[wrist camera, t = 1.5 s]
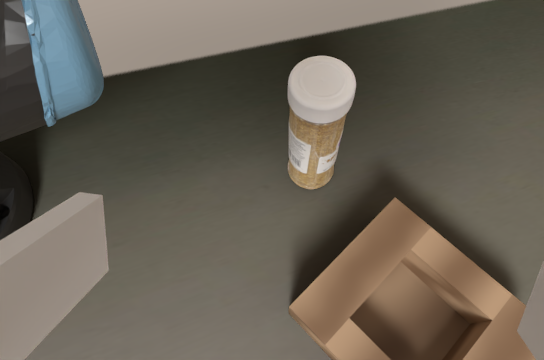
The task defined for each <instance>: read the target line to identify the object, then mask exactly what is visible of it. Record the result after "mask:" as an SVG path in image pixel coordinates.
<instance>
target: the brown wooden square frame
mask: <svg viewBox="0 0 544 360" xmlns="http://www.w3.org/2000/svg"><path fill="white" fill-rule="evenodd" d="M525 308H526V305H524V304H523V303H522V302H521V301H520V300H518V299H517V298H516V297H515V296H514V295H512V294H511V293H510V292H509V291H508V290H506V289H505V288H504V287H503V286H501V285H500V284H499V283H498V282H497V281H495V280H494V279H493V278H492V277H491V276H489V275H488V274H487V273H486V272H485V271H483V270H482V269H481V268H480V267H479V266H477V265H476V264H475V263H474V262H473V261H471V260H470V259H469V258H468V257H467V256H465V255H464V254H463V253H462V252H460V251H459V250H458V249H457V248H456V247H454V246H453V245H452V244H451V243H450V242H448V241H447V240H446V239H445V238H444V237H442V236H441V235H440V234H439V233H438V232H436V231H435V230H434V229H433V228H432V227H430V226H429V225H428V224H427V223H426V222H424V221H423V220H422V219H421V218H419V217H418V216H417V215H416V214H415V213H413V212H412V211H411V210H410V209H409V208H407V207H406V206H405V205H404V204H403V203H401V202H400V201H399V200H398V199H397V198H394V199H393V200H392V201H391V202H390V203H389V204H388V205H387V206H386V207H385V208H384V209H383V210H382V211H381V212H380V213H379V214H378V215H377V216H376V217H375V218H374V219H373V220H372V222H371V223H370V224H369V225H368V226H367V227H366V228H365V229H364V230H363V231H362V232H361V233H360V234H359V235H358V236H357V237H356V238H355V239H354V240H353V241H352V242H351V243H350V244H349V245H348V246H347V247H346V248H345V249H344V250H343V251H342V253H341V254H340V255H339V256H338V257H337V258H336V259H335V260H334V261H333V262H332V263H331V264H330V265H329V266H328V267H327V268H326V269H325V270H324V271H323V272H322V273H321V274H320V275H319V276H318V277H317V278H316V279H315V280H314V281H313V282H312V283H311V285H310V286H309V287H308V288H307V289H306V290H305V291H304V292H303V293H302V294H301V295H300V296H299V297H298V298H297V299H296V300H295V301H294V302H293V303H292V304H291V305H290V306H289V314H290V315H291V316H292V317H293V319H294V320H295V321H296V322H297V323H298V324H299V325H300V326H301V327H302V328H303V329H304V330H305V331H306V332H307V334H308V335H309V336H310V337H311V338H312V339H313V340H314V341H315V342H316V343H317V344H318V345H319V346H320V347H321V348H322V350H323V351H324V352H325V353H326V354H327V355H328V356H329V357H330V358H331V359H332V360H536V359H535V357H534V356H533V354H532V353H531V351H530V350H529V348H528V347H527V345H526V344H525V342H524V341H523V339H522V338H521V336H520V335H519V333H518V332H517V329H518V327H519V324H520V321H521V319H522V316H523V314H524V311H525Z"/></svg>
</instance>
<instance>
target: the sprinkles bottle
mask: <svg viewBox="0 0 544 360" xmlns="http://www.w3.org/2000/svg"><path fill="white" fill-rule="evenodd" d="M355 89H356V80H355V76H354V74H353V72H352V70H351V69H350V68H349V67H348V66H347V65H346V64H345V63H344V62H342V61H340V60H339V59H336V58H333V57H329V56H313V57H309V58H307V59H304V60H302V61H301V62H299V63H298V64H297V65H296V66H295V67H294V68H293V70H292V71H291V73H290V76H289V79H288V102H289V105H290V117H289V162H288V173H289V175H290V178H291V179H292V180H293V181H294V182H295V183H296V184H297V185H299V186H301V187H303V188H307V189H316V188H320V187H322V186H324V185H325V184H326V183H328V182H329V180H330V179H331V177H332V175H333V173H334V163H335V160H336V157H337V153H338V149H339V144H340V140H341V136H342V132H343V126H344V122H345V118H346V114H347V112H348V111H349V109H350V108H351V105H352V102H353V98H354V94H355Z"/></svg>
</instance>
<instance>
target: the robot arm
mask: <svg viewBox="0 0 544 360" xmlns="http://www.w3.org/2000/svg"><path fill="white" fill-rule="evenodd" d="M103 87H104V78H103V74H102V70H101V66H100V63H99V59H98V56H97V53H96V50H95V47H94V44H93V41H92V38H91V36H90V32H89V30H88V28H87V24H86V21H85V19H84V16H83V13H82V11H81V8H80V5H79V3H78V0H0V142H1V141H4V140H7V139H9V138H12V137H15V136H18V135H20V134H23V133H26V132H28V131H31V130H34V129H36V128H39V127H42V126H44V125H47V126H48V127H49V126H53V125H54V124H55V123H56V121H57V120H59V119H61V118H63V117H66V116H68V115H70V114H73V113H75V112H77V111H80V110H82V109H84V108H87V107H89V106H91V105H92V104H94V103H95V102H96V101H97V100H98V99H99V97H100V96H101V94H102V91H103ZM32 208H33V194H32V188H31V184H30V181H29V179H28V177H27V175H26V173H25V172H24V170H23V169H22V168H21V167H20V166H19V165H18V164H17V163H16V162H14V161H13V160H12V159H10V158H9V157H7V156H6V155H5V154H3V153H2V152H0V360H24V359H25V358H26V357H27V356H28V355H29V354H30V353H31V352H32V351H33V350H34V349H35V348H36V347H37V346H38V345H39V343H40V342H41V341H42V340H43V339H44V338H45V337H46V336H47V335H48V334H49V333H50V332H51V331H52V330H53V329H54V328H55V327H56V326H57V325H58V323H59V322H60V321H61V320H62V319H63V318H64V317H65V316H66V315H67V314H68V313H69V312H70V311H71V310H72V309H73V308H74V307H75V306H76V304H77V303H78V302H79V301H80V300H81V299H82V298H83V297H84V296H85V295H86V294H87V293H88V292H89V291H90V290H91V289H92V288H93V287H94V285H95V284H96V283H97V282H98V281H99V280H100V279H101V278H102V277H103V276H104V275H105V274H106V273H107V272H108V271H109V268H108V256H107V244H106V232H105V220H104V208H103V196H102V195H97V194H89V193H81V192H79V193H77V194H76V195H74V196H72V197H71V198H69V199H67V200H66V201H64V202H63V203H61V204H59V205H58V206H56V207H54V208H53V209H51V210H49V211H48V212H46V213H44V214H43V215H41V216H40V217H38V218H36V219H35V220H33V221H31V222H30V219H31V215H32ZM29 222H30V223H29ZM517 332H518V333H519V335H520V336H521V338H522V339H523V341H524V342H525V344H526V345H527V347H528V348H529V350H530V351H531V353H532V354H533V356H534V357H535V359H536V360H544V261H543V264H542V266H541V269H540V272H539V274H538V277H537V280H536V282H535V285H534V287H533V290H532V293H531V295H530V298H529V301H528V303H527V306H526V308H525V311H524V314H523V316H522V319H521V321H520V324H519V327H518V329H517Z"/></svg>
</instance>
